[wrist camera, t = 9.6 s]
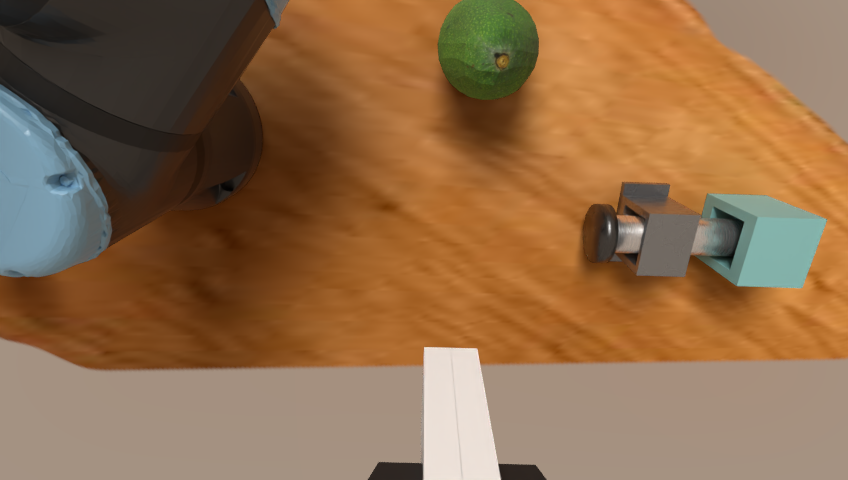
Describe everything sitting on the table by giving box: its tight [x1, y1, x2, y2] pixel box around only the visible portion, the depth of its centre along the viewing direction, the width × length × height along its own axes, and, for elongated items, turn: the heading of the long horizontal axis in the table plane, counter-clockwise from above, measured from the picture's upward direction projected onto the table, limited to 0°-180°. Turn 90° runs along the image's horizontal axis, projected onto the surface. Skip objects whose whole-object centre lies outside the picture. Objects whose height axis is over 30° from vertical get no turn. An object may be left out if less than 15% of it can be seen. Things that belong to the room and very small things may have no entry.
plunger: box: [583, 204, 744, 263], centre depth 44 cm, size 17×6×6 cm, turn 88°
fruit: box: [438, 0, 539, 100], centre depth 36 cm, size 8×8×12 cm
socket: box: [694, 194, 827, 288], centre depth 44 cm, size 6×7×8 cm
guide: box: [610, 182, 701, 277], centre depth 45 cm, size 4×8×7 cm, turn 178°
